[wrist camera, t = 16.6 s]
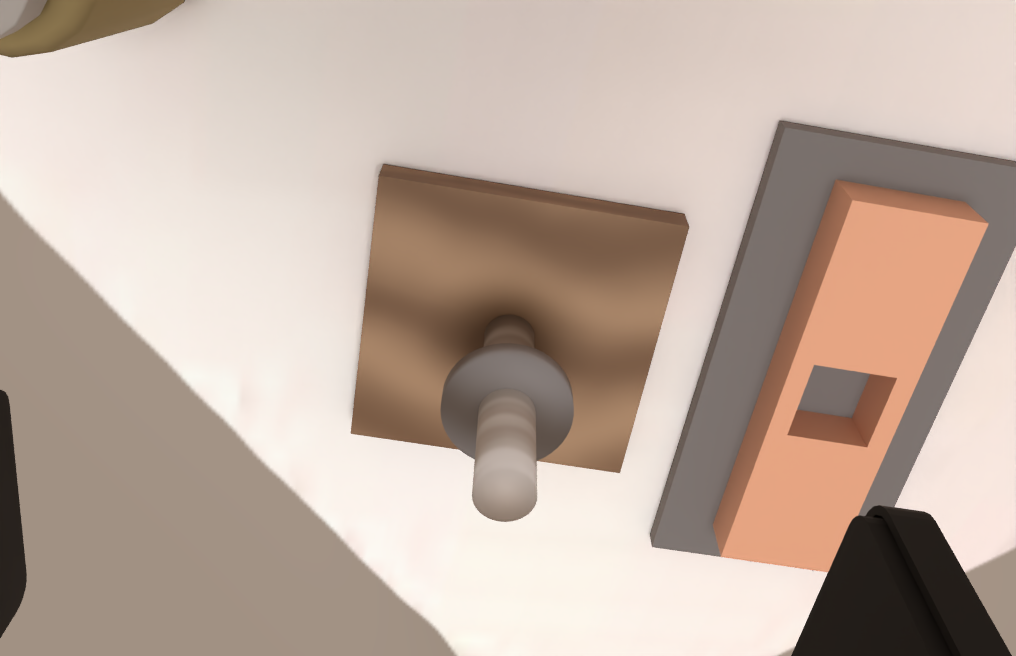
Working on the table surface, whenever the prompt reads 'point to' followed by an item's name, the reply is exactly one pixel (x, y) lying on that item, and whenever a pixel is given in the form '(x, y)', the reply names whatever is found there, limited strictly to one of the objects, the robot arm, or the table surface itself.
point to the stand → (510, 325)
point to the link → (849, 346)
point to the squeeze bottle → (71, 22)
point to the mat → (770, 291)
